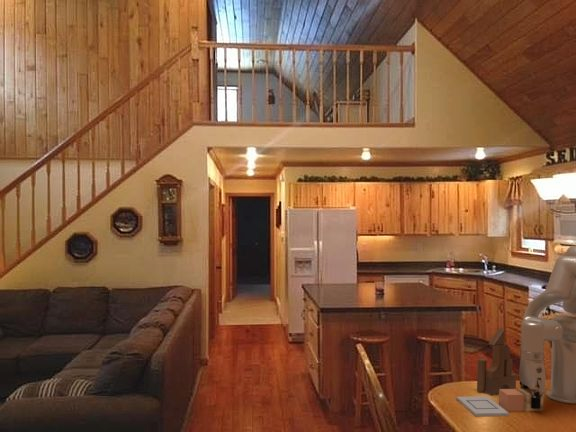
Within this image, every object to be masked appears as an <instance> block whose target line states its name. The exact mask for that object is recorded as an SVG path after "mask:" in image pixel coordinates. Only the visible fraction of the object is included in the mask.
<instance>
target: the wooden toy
mask: <svg viewBox="0 0 576 432" xmlns="http://www.w3.org/2000/svg"><path fill="white" fill-rule="evenodd" d="M488 345H490V346H492V361H491V364H490V366H489V367H488V368H487V359H486V358H482V357H481V358H480V357H479V358H477V373H476V374H477V377H476V381H477V382H476V391H477V392H479V393H485V394H488V395H490V396H495V395H499V389H516V388H517V374H516V373H514V372H513V359H512V358H511V348H510V346H509V345H508V343H506V342H505V329H504V328H501V327H499V328H497V331H496V332H495V334H494V335H493V336H492V337H491V339H490V341H489V342H488ZM516 390H517V389H516Z"/></svg>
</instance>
